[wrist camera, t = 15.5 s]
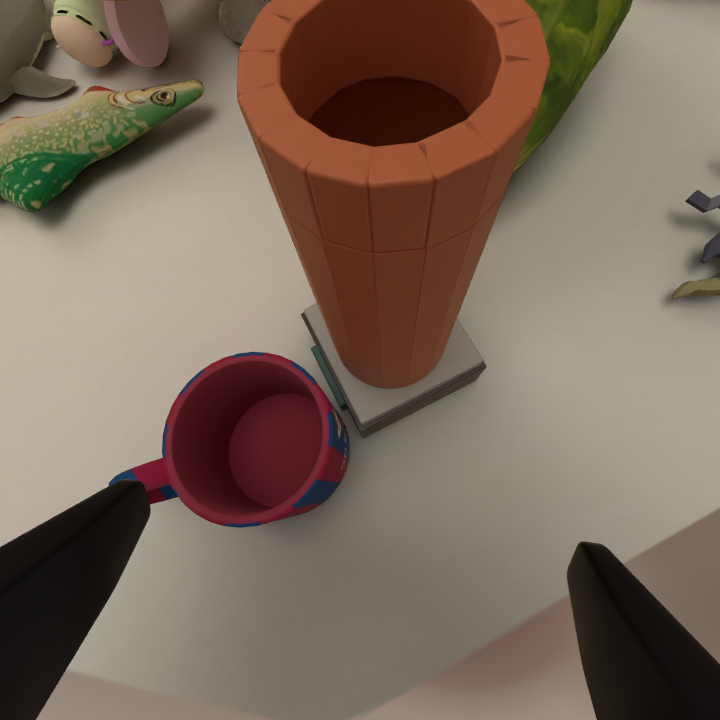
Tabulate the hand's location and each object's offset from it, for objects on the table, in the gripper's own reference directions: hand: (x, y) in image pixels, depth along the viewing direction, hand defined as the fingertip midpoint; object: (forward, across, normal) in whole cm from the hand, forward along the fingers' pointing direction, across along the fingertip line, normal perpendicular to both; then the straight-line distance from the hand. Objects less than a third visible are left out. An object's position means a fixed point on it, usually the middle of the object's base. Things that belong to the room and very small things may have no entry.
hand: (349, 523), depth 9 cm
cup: (+11, +6, +9) cm, 15 cm away
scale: (+15, 0, +4) cm, 16 cm away
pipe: (+13, 0, +2) cm, 13 cm away
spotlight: (+33, +23, -14) cm, 43 cm away
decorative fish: (+26, +28, -8) cm, 39 cm away
